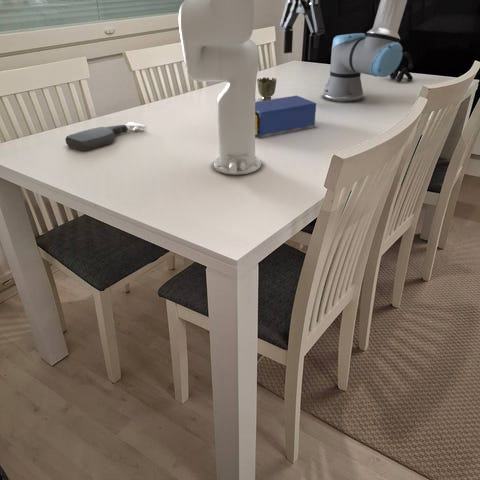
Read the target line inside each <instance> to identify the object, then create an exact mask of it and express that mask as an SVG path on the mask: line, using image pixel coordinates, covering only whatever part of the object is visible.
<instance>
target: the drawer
mask: <svg viewBox="0 0 480 480" xmlns="http://www.w3.org/2000/svg"><path fill="white" fill-rule="evenodd" d="M259 118H260V115H259V114H257V113H255V136H257V131H259Z"/></svg>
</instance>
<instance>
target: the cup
mask: <svg viewBox="0 0 480 480" xmlns="http://www.w3.org/2000/svg"><path fill="white" fill-rule="evenodd" d="M256 84H257V91H258V95H259V96H260V97H261V101H265V100H271V99H272V97H273V96H274V95H275V92H276V89H277V88H276V87H277V78H276V77H275V78H274V77H272V78H271V79H270V77H262V78H261V77H259V78H256Z"/></svg>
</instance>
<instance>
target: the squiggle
mask: <svg viewBox="0 0 480 480" xmlns="http://www.w3.org/2000/svg"><path fill="white" fill-rule="evenodd" d="M406 62H407V65H408V66H407V67H405V66H404V65H405V64H406ZM413 68H414V64H413V61H412V57H411V54H410V53H409V52H408V51H403V54H402V59H401V61H400V64H399V66H398V67H397V69H396V70H395V71H394V72H392V74H390V75H389V78H390V79H391V80H395V79H396V81H397V82H399V83H400V82H402V81H403V79H404V76H406V78H407V80H408V81H412V80H413V79H414V77H413V75H412V74H411V73H410V72H409V71H410V70H412V69H413ZM400 70H401V71H400Z"/></svg>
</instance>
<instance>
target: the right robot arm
mask: <svg viewBox="0 0 480 480" xmlns="http://www.w3.org/2000/svg"><path fill="white" fill-rule="evenodd" d="M407 2H408V0H380V1H379V4H378V8H377V12H376V16H375V19H374V23H373V26H372V28H371V29H369V30H368V31H366V33H363V32H360V33H359V32H357V33H346V34H340V35H336V36H335V37H333V40H332V46H331V54H330V55H331V56H330V70H329V77H328V80H327V83H326V84H325V86H324V87H325V88H324V90H323V95H322V96H323V98H324V99H325V100H328V101H330V102H337V103H353V102H359V101H362V100H363V96H364V91H363V86H362V81H361V74H363V75H368V76H372V77H381V78H385V77H390V74H392V72H394V71H395V70H396V69H397V67H398V66H399V64H400V62H401V61H402V60H403V57H402V54H403V53H404V51H403V46H402V44H401V43H400V40H401V37H400V35H399V33H398V32H399V29H400V26H401V22H402V19H403V15H404V12H405V9H406V5H407ZM284 5H285V6H284V9H283V12H282V16H281V20H280V22H279V27H280V28H282V30H283V54H292V53H293V41H294V39H293V38H294V28H293V27H294V24H295V22H296V21H297V18H298V17H299V15H300V14H302V15H303V16H304V17H305V20H306V23H307V26H308V29H309V31H310V34H309V37H308V53H307V55H308V56H307V61H313V60H318V50H319V49H318V48H319V45H320V36H321V35H324V34H325V32H326V30H325V24H324V19H323V14H322V13H323V12H322V8H321V7H322V6H321V0H286V1H285V4H284Z"/></svg>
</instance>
